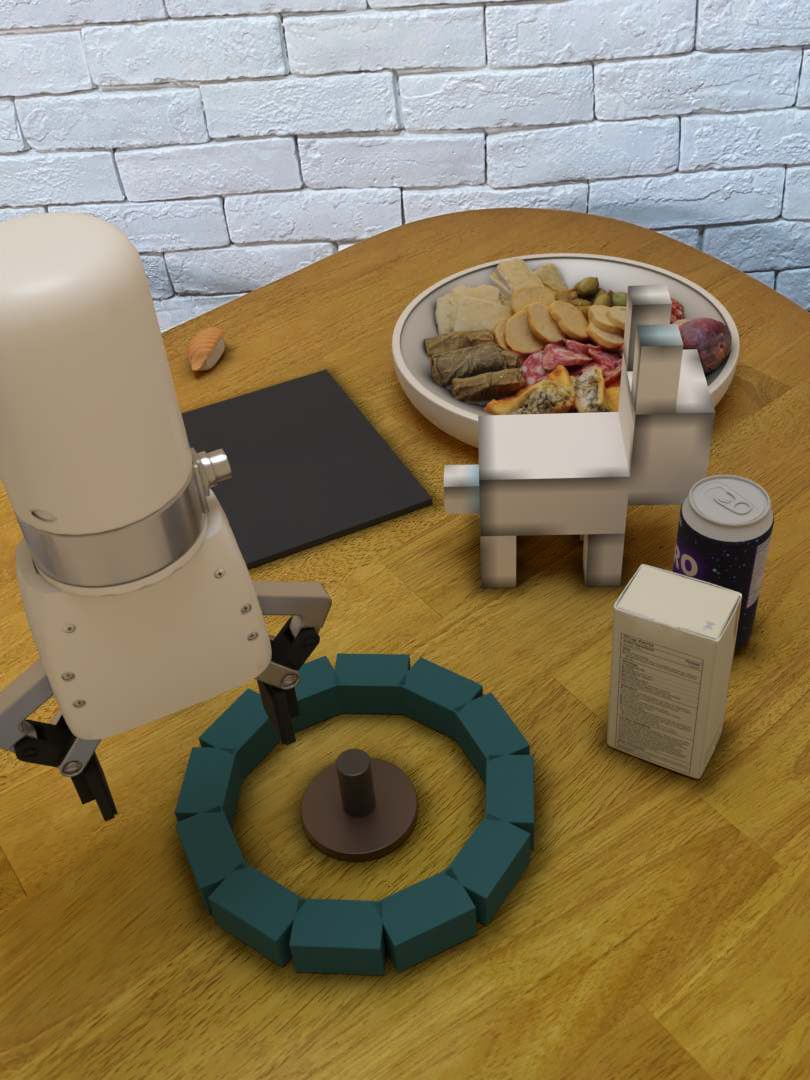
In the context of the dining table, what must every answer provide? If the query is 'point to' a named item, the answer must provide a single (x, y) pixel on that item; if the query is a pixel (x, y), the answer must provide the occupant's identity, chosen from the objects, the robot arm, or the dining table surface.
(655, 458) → the toy llama
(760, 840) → the dining table surface
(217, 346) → the sushi
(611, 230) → the dining table surface
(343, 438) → the mat
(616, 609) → the cosmetic box
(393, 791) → the ring stand
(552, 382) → the bowl
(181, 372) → the dining table surface
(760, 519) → the beverage can
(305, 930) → the ring
